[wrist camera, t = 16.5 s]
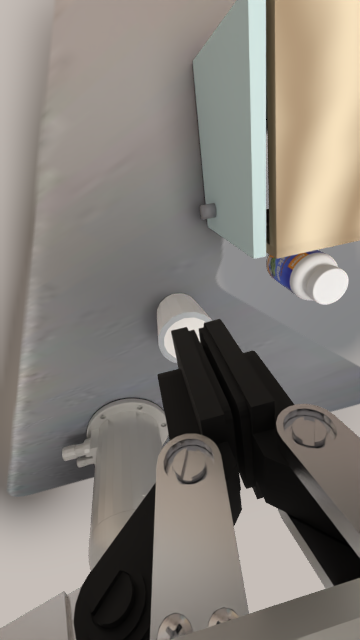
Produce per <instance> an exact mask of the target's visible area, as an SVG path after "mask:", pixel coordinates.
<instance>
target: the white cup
mask: <svg viewBox="0 0 360 640" xmlns="http://www.w3.org/2000/svg"><path fill="white" fill-rule="evenodd" d="M209 321H212V320H211V318H210V317H209V316H208V315H207V314H206V313H205V311H204V310H203V309H202V308H201V307H200V306H199V305H198V303H197V302H196V301H195V300H194V299H193V298H192V297H191V296H189V295H186V294H183V293H178V294H172V295H170V296H167V297H166V298H165V299H164V300H163V301H162V302H161V303H160V304H159V307H158V309H157V326H158V344H159V348H160V350H161V352H162V354H163V356H165V357H166V358H167V359H169V360H170V361H171V362H175V363H177V358H176V354H175V349H174V344H173V339H172V334H171V330H176V329H180V328H184V327H187V328H188V330H189V331H190V330H195V332H196V334H197V337H198V339H199V341H200V336H199V328H203V327H204V323H205V322H209Z"/></svg>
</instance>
